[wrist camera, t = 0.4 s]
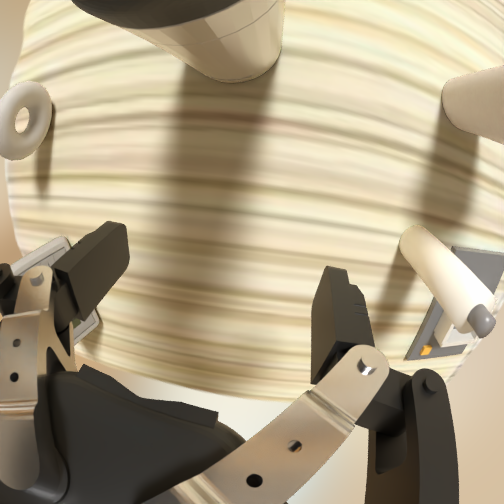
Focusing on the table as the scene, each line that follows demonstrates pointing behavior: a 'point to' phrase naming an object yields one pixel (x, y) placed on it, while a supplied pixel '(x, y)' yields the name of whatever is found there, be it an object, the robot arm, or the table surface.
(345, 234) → the table surface
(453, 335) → the floor socket
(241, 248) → the table surface
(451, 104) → the coffee cup
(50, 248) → the digital thermostat
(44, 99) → the donut
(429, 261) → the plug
